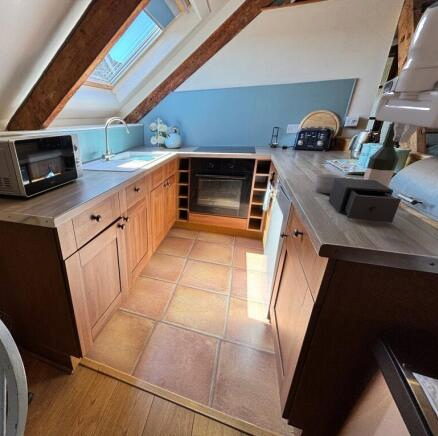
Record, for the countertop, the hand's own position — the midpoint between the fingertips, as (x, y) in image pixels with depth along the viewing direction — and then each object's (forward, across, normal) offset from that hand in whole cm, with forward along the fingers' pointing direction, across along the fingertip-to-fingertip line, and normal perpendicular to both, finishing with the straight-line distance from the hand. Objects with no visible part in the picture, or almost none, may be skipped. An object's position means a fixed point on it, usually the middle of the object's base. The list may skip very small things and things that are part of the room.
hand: (400, 141), depth 64 cm
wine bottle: (+30, +31, -19) cm, 47 cm away
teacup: (+30, +38, -8) cm, 49 cm away
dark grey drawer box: (+28, +18, -6) cm, 33 cm away
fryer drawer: (+26, +10, -4) cm, 28 cm away
